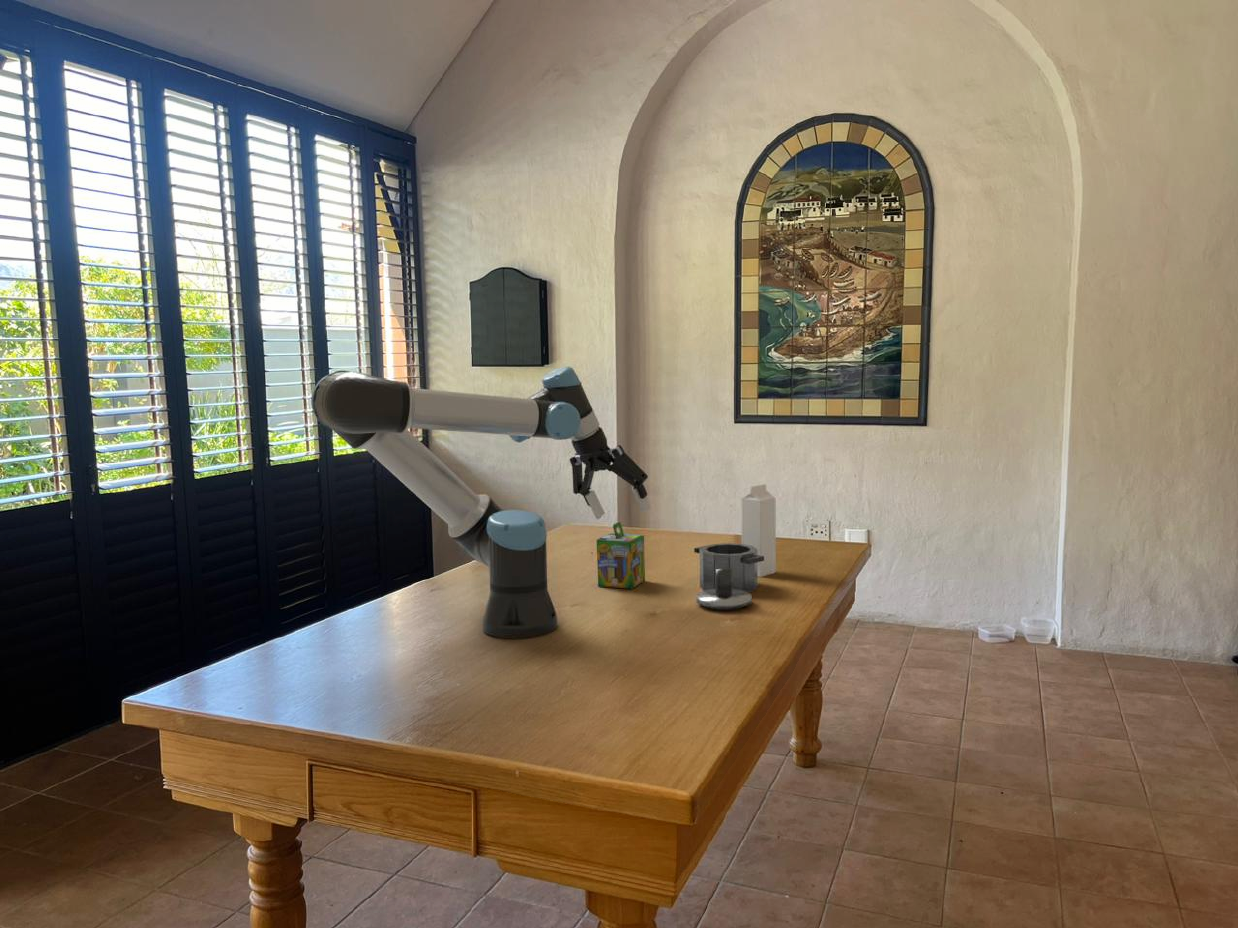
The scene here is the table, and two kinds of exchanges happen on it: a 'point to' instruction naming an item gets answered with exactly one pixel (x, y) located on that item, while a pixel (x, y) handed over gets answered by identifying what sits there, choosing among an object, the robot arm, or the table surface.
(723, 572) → the lid
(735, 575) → the pot
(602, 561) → the chalk box
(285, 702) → the table surface
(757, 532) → the milk
